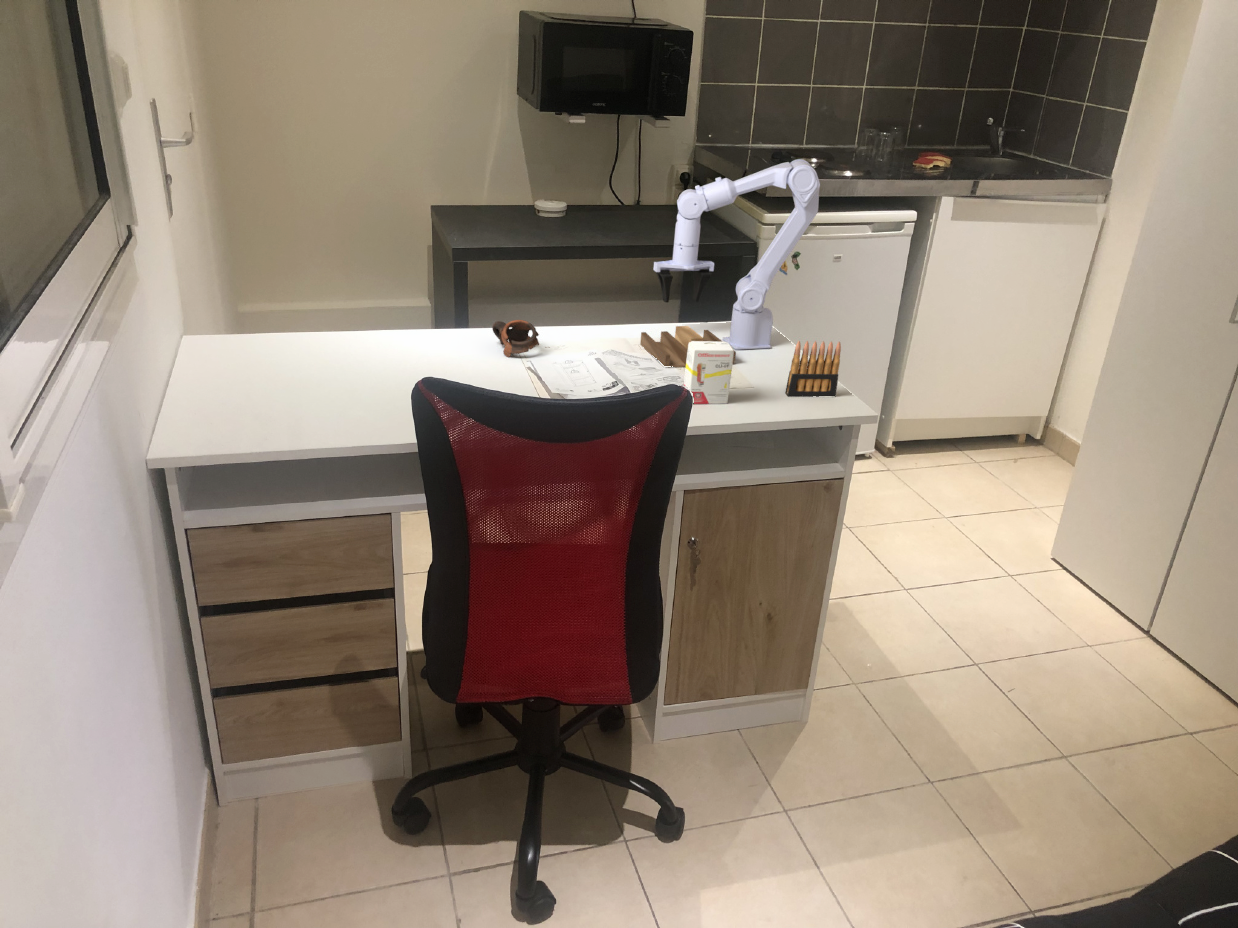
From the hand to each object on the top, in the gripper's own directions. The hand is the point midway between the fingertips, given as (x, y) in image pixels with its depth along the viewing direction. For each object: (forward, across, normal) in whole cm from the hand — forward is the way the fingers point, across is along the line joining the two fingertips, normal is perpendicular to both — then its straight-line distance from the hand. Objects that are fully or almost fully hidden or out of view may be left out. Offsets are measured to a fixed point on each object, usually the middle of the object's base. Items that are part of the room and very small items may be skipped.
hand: (680, 301), depth 225 cm
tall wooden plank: (+9, -2, -12) cm, 15 cm away
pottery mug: (+10, -41, -3) cm, 42 cm away
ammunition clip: (+10, +15, -39) cm, 43 cm away
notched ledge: (+9, -2, -11) cm, 15 cm away
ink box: (+10, -9, -38) cm, 40 cm away
